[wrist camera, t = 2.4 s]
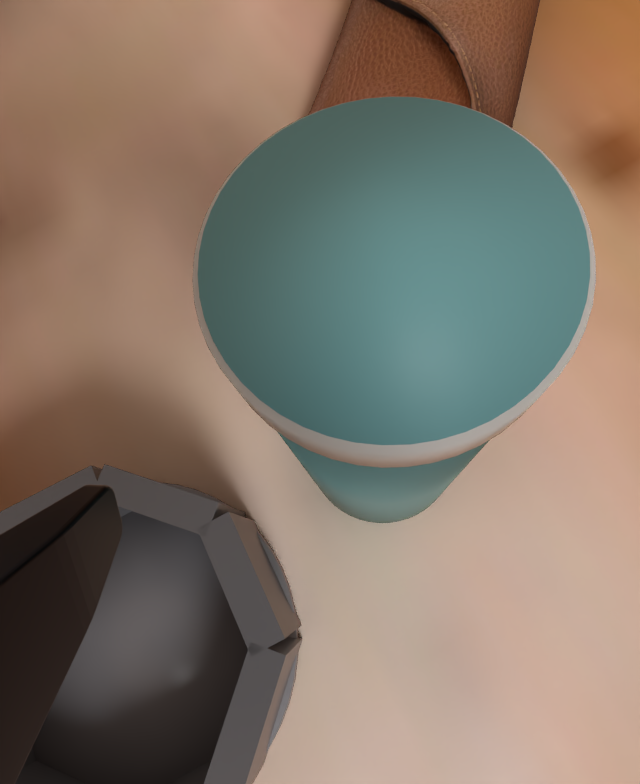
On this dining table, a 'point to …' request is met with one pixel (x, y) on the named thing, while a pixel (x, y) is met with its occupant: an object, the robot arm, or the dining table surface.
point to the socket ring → (171, 646)
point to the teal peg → (393, 291)
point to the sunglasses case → (433, 53)
